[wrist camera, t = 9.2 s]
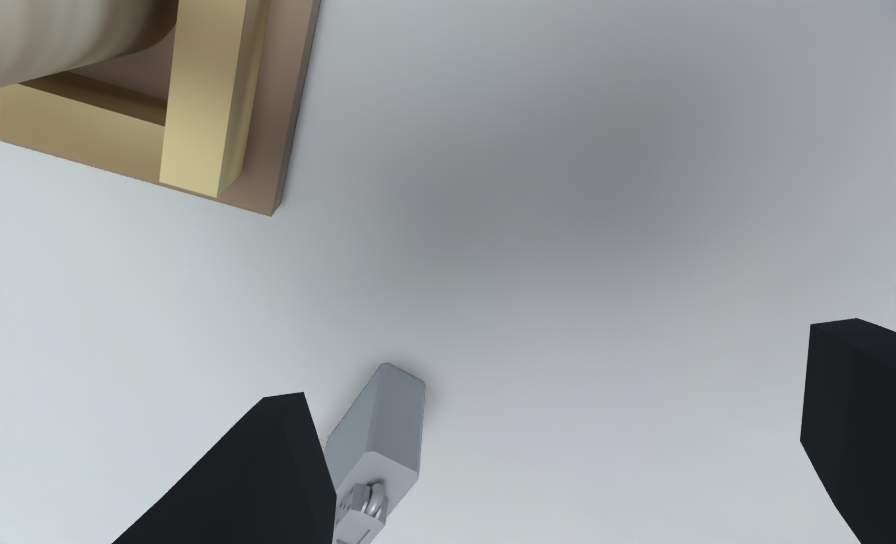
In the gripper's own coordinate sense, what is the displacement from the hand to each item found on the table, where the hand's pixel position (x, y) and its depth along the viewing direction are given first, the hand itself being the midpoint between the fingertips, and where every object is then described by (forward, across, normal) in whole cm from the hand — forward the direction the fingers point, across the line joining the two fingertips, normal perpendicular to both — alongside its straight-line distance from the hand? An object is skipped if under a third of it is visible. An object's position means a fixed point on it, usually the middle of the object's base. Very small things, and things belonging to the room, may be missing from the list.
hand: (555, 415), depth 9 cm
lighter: (+11, +6, +8) cm, 15 cm away
